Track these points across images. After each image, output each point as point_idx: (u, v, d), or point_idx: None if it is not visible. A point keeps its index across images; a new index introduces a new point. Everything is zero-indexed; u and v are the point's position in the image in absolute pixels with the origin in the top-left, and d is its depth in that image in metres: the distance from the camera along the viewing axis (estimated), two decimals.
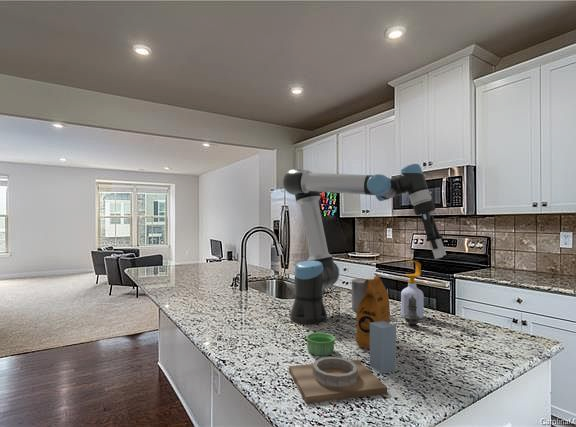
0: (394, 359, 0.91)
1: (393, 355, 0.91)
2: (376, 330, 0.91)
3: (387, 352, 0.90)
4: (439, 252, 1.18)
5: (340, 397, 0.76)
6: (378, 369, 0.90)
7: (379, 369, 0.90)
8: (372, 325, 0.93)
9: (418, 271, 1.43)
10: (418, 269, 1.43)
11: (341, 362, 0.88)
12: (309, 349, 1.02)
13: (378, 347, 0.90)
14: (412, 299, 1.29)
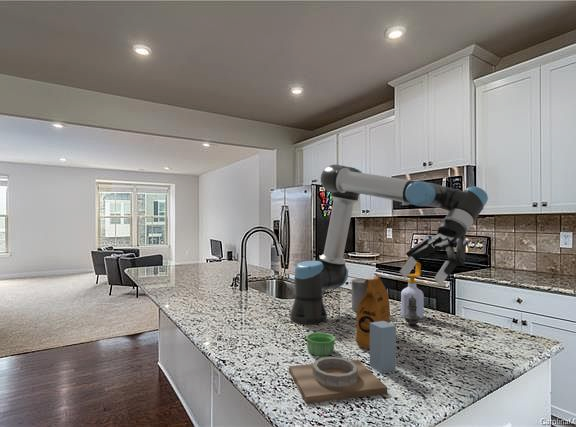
0: (394, 359, 0.91)
1: (393, 355, 0.91)
2: (376, 330, 0.91)
3: (387, 352, 0.90)
4: (443, 278, 0.92)
5: (340, 397, 0.76)
6: (378, 369, 0.90)
7: (379, 369, 0.90)
8: (372, 325, 0.93)
9: (418, 271, 1.43)
10: (418, 269, 1.43)
11: (341, 362, 0.88)
12: (309, 349, 1.02)
13: (378, 347, 0.90)
14: (412, 299, 1.29)
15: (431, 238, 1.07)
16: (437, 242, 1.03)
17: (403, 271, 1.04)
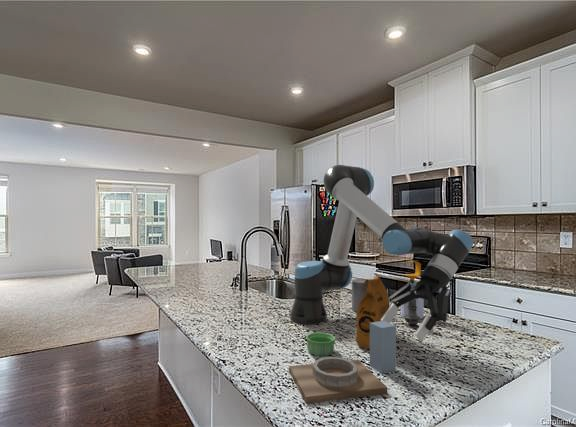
0: (394, 359, 0.91)
1: (393, 355, 0.91)
2: (376, 330, 0.91)
3: (387, 352, 0.90)
4: (424, 334, 0.88)
5: (340, 397, 0.76)
6: (378, 369, 0.90)
7: (379, 369, 0.90)
8: (372, 325, 0.93)
9: (418, 271, 1.43)
10: (418, 269, 1.43)
11: (341, 362, 0.88)
12: (309, 349, 1.02)
13: (378, 347, 0.90)
14: None
15: (414, 283, 1.03)
16: (420, 290, 0.98)
17: (384, 319, 0.99)
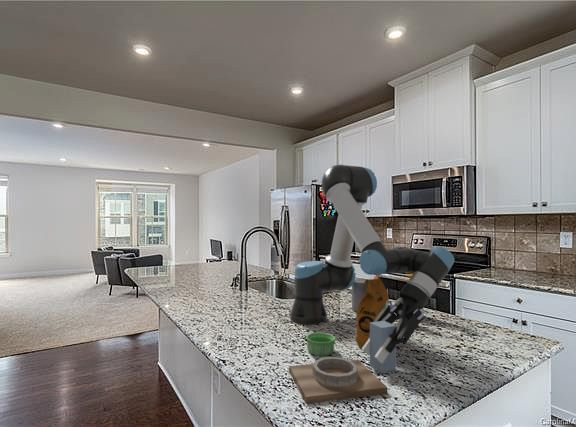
0: (394, 359, 0.91)
1: (393, 355, 0.91)
2: (376, 330, 0.91)
3: None
4: (384, 356, 0.89)
5: (340, 397, 0.76)
6: (378, 369, 0.90)
7: (379, 369, 0.90)
8: (372, 325, 0.93)
9: None
10: None
11: (341, 362, 0.88)
12: (309, 349, 1.02)
13: (378, 347, 0.90)
14: None
15: (392, 303, 1.00)
16: (398, 308, 0.96)
17: (366, 348, 0.93)
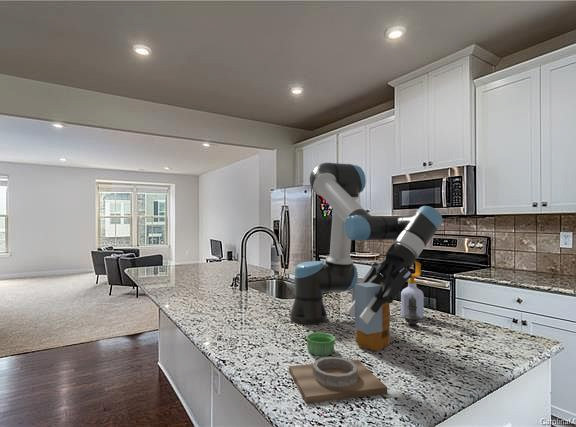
0: (380, 320, 0.87)
1: (379, 316, 0.87)
2: (361, 290, 0.87)
3: None
4: (370, 316, 0.85)
5: (340, 397, 0.76)
6: (364, 330, 0.86)
7: (365, 330, 0.86)
8: (357, 286, 0.89)
9: (418, 271, 1.43)
10: (418, 269, 1.43)
11: (341, 362, 0.88)
12: (309, 349, 1.02)
13: (363, 307, 0.86)
14: (412, 299, 1.29)
15: (378, 266, 0.96)
16: (384, 269, 0.92)
17: (351, 310, 0.89)
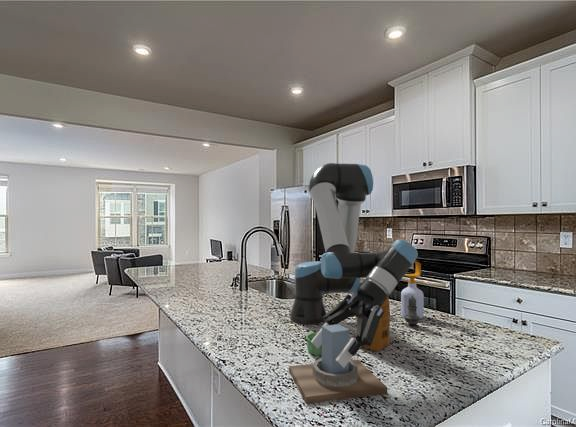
0: (347, 367, 0.83)
1: None
2: (327, 335, 0.83)
3: None
4: (347, 360, 0.78)
5: (340, 397, 0.76)
6: None
7: None
8: (323, 329, 0.85)
9: (418, 271, 1.43)
10: (418, 269, 1.43)
11: None
12: (309, 349, 1.02)
13: (329, 353, 0.82)
14: (412, 299, 1.29)
15: (351, 299, 0.92)
16: (354, 307, 0.88)
17: (315, 341, 0.88)
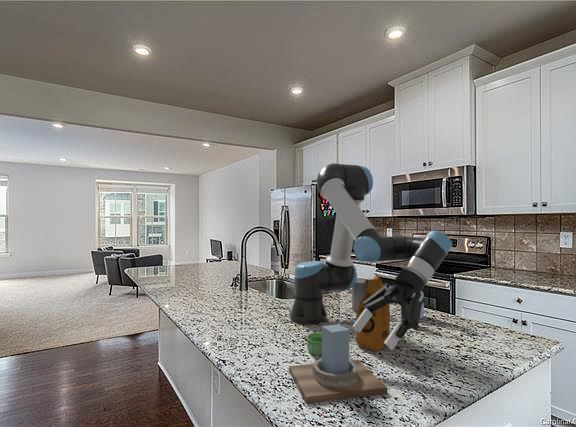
0: (347, 367, 0.83)
1: (346, 362, 0.82)
2: (327, 335, 0.83)
3: (339, 359, 0.82)
4: (394, 342, 0.83)
5: (340, 397, 0.76)
6: None
7: None
8: (323, 329, 0.85)
9: None
10: None
11: None
12: (309, 349, 1.02)
13: (329, 353, 0.82)
14: None
15: (389, 287, 0.97)
16: (393, 295, 0.93)
17: (356, 326, 0.94)
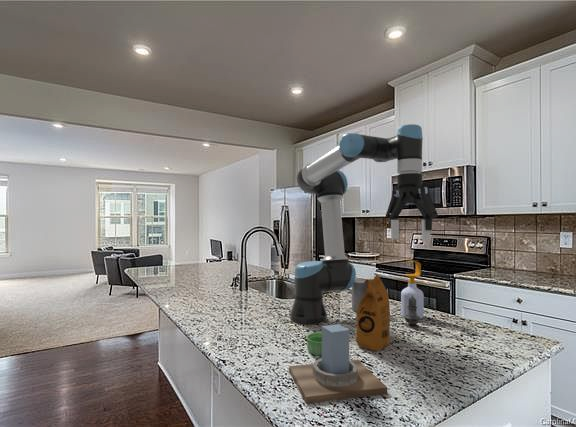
0: (347, 367, 0.83)
1: (346, 362, 0.82)
2: (327, 335, 0.83)
3: (339, 359, 0.82)
4: (429, 235, 1.00)
5: (340, 397, 0.76)
6: None
7: None
8: (323, 329, 0.85)
9: (418, 271, 1.43)
10: (418, 269, 1.43)
11: None
12: (309, 349, 1.02)
13: (329, 353, 0.82)
14: (412, 299, 1.29)
15: (397, 193, 1.11)
16: (404, 198, 1.07)
17: (393, 236, 1.12)
